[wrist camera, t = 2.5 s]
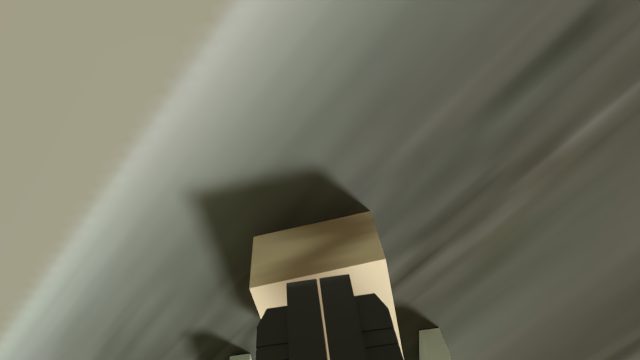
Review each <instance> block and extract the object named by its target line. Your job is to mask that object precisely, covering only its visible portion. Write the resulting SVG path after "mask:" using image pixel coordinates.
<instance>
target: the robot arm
mask: <svg viewBox="0 0 640 360" xmlns="http://www.w3.org/2000/svg"><path fill="white" fill-rule="evenodd" d="M319 280H320V288H321V296H322V303H323V311H324V319H325V326H326V334H327V342H328V349H329V357H330V360H404V359H403V356H402V353H401V349H400V347H399V343H398V339H397V336H396V332H395V331H394V326H393V322H392V319H391V316H390V312H389V309H388V307H387V306H386V305H385V304H384V303H383V302H382V301H381V300H380V298H379V297H378V296H377V295H376V294H375V293H372V294H365V295H358V296H354V293H353V289H352V284H351V280H350V275H349V274H345V275H338V276H331V277H324V278H319ZM286 290H287V306H281V307H274V308H267V309H266V311H265V313H264V315H263V317H262V318H261V320H260V322H259V324H258V326H257V343H256V348H257V351H256V360H328V358H327V350H326V343H325V335H324V328H323V321H322V313H321V306H320V299H319V292H318V285H317V279H311V280H304V281H297V282H290V283H287V284H286Z"/></svg>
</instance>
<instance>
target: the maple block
mask: <svg viewBox="0 0 640 360" xmlns="http://www.w3.org/2000/svg"><path fill="white" fill-rule="evenodd" d="M345 274H349V275H350V280H351V284H352V289H353V293H354V296H358V295H365V294H372V293H375V294H376V295H377V296H378V297H379V298H380V300H381V301H382V302H383V303H384V304H385V305H386V306H387V307H388V309H389V312H390V316H391V319H392V322H393V326H394V331H395V332H396V336H397V339H398V343H399V347H400V349H401V353H402V356H403V352H402V346H401V341H400V335H399V330H398V324H397V319H396V313H395V308H394V303H393V297H392V292H391V286H390V281H389V275H388V270H387V264H386V259H385V256H384V252H383V249H382V246H381V243H380V240H379V237H378V233H377V230H376V227H375V224H374V221H373V217H372V214H371V211H369V212H364V213H360V214H355V215H350V216H346V217H341V218H337V219H332V220H328V221H323V222H319V223H314V224H309V225H305V226H300V227H296V228H291V229H287V230H282V231H277V232H273V233H268V234H264V235H259V236H255V237H253V248H252V261H251V273H250V285H249V289H250V292H251V294H252V297H253V300H254V302H255V305H256V307H257V310H258V313H259V315H260V318H262V317H263V315H264V313H265V311H266V309H267V308H274V307H281V306H287V290H286V284H287V283H290V282H297V281H304V280H311V279H317V285H318V292H319V299H320V306H321V313H322V321H323V328H324V335H325V343H326V350H327V358H328V360H330V357H329V349H328V342H327V334H326V326H325V319H324V311H323V303H322V296H321V288H320V280H319V278H324V277H331V276H338V275H345ZM403 359H404V357H403Z"/></svg>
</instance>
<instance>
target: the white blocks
mask: <svg viewBox="0 0 640 360" xmlns="http://www.w3.org/2000/svg"><path fill="white" fill-rule="evenodd" d="M230 360H252V358H251V355H250V354H243V355H236V356H230ZM419 360H451V357H450V354H449V352H448V349H447V347H446V344H445V342H444V339H443V336H442V334H441V331H440V329H439V328H434V329H427V330H420V331H419Z"/></svg>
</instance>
